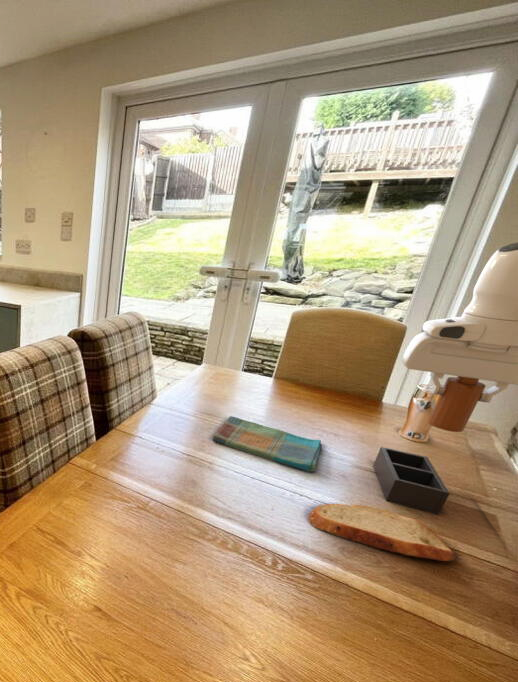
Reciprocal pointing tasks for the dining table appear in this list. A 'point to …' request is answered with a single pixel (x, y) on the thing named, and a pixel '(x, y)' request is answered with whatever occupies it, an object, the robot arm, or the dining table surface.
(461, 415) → the spice bottle
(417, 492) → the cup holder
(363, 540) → the bread slice
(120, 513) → the dining table surface
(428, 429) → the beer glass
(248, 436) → the dish towel
